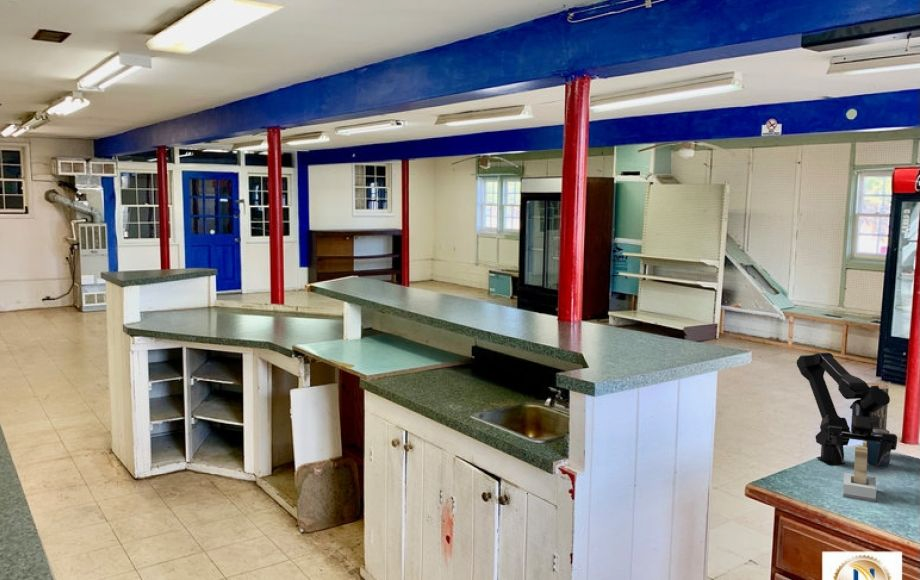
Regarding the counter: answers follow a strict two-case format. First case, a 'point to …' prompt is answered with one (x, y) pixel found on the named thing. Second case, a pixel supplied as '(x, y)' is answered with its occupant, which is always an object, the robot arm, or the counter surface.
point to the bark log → (883, 411)
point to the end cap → (859, 488)
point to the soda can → (877, 450)
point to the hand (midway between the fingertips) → (860, 462)
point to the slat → (860, 465)
